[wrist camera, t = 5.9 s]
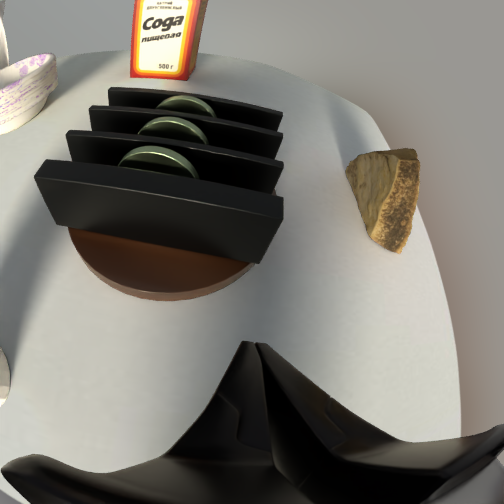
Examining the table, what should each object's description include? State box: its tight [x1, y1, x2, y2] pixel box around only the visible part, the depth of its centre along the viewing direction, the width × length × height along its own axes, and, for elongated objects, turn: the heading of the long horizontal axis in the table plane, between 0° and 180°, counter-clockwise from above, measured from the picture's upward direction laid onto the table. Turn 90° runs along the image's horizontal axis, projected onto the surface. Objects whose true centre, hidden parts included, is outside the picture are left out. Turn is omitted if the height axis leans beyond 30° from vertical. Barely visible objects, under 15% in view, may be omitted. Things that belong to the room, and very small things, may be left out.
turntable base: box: [68, 189, 276, 301], centre depth 22 cm, size 18×18×2 cm
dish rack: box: [34, 87, 284, 264], centre depth 18 cm, size 12×15×7 cm
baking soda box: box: [130, 0, 208, 81], centre depth 28 cm, size 10×6×16 cm
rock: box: [345, 148, 420, 254], centre depth 25 cm, size 11×9×10 cm
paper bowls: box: [0, 53, 58, 135], centre depth 21 cm, size 15×15×8 cm
